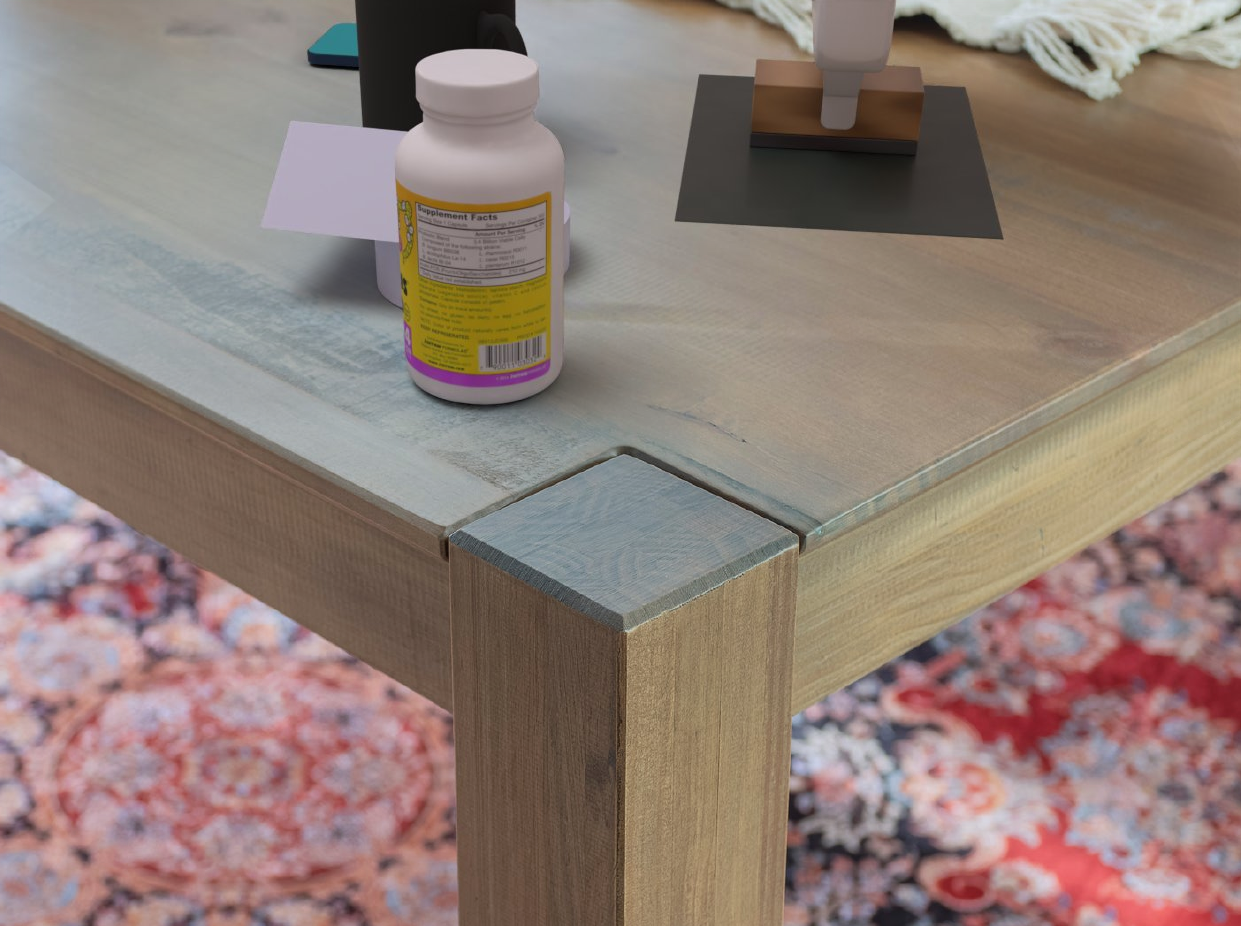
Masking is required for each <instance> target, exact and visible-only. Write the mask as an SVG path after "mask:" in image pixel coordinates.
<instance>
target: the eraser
mask: <svg viewBox="0 0 1241 926" xmlns="http://www.w3.org/2000/svg"><path fill="white" fill-rule="evenodd" d="M754 77H755V80H754V92H753V105H752V118H751V132H750V146H751V147H766V148H785V149H804V150H823V151H841V152H860V153H879V154H898V155H916V153H917V146H918V139H919V131H920V124H921V116H922V109H923V102H924V94H925V93H924V87H923V85H924V82H923V75H922V69H921V67H920V66H910V65H909V66H908V65H889V64H886V67H885V68H884V69H883V70H882V71H881V72H877V73H864V76H863V80H862V84H861V88H860V92H859V95H858V101H857V109H856V118H855V123H854V125H853V127H852V128H850V129H848V130H838V129H826V128H825V127H824V126H822V123H821V106H822V96H823V81H824V70H821V69H819V68H818V67H817V66H816V65H815V62H814V61H805V60H784V59H765V58H764V59H763V58H757V59H756V60H755V71H754Z"/></svg>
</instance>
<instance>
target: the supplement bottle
mask: <svg viewBox="0 0 1241 926" xmlns="http://www.w3.org/2000/svg"><path fill="white" fill-rule="evenodd" d="M539 68H540V67H539V65H538V63H537V61H535V60H534V59H533V58H531V57H529V56H528V57H527V56H525V55H522V54H518V53H514V52H510V51H504V50H495V49H462V50H453V51H447V52H442V53H438V54H434V55H431V56H428V57H426V58H424V59H423V60H421V61H420V62H419V63H418V64H417V66H416V69H415V71H416V98H417V100H418V102H419V103H420V107H421V109H422V111H423V122H422V123H420V124H419V125H417V126H415V127H414V128H412V129H411V130H410V131H409V132H408V133H407V134H406V135H405V136H404V137H403V138H402V140H401V142H400V144H399V146H398V148H397V151H396V155H395V182H396V198H397V216H398V233H399V253H400V271H401V291H402V308H401V309H402V325H403V326H402V327H403V342H404V345H403V346H404V353H405V365H406V369H407V372H408V375H409V377H410V378H411V379H412V381H413V382H414V383H415V384H416V385H417V386H418V387H419V388H420V389H422V390H423V391H424V392H426V393H428V394H429V395H432V396H434V397H436V398H439V399H443V400H446V401H449V402H454V403H462V404H468V405H469V404H470V405H500V404H501V405H502V404H507V403H512V402H518V401H520V400H524V399H527V398H529V397H533V396H534V395H536V394H538V393H541V392H542V391H544V390H545V389H547V388H548V387H549V386H550V385H552V384H553V383H554V382H555V380H556V379H557V378H558V376H559V375H560V373H561V371H562V368H563V363H564V336H565V335H564V331H565V330H564V329H565V327H564V324H565V323H564V319H565V318H564V317H565V316H564V313H565V312H564V311H565V310H564V308H565V307H564V305H565V304H564V303H565V301H564V300H565V299H564V295H565V293H564V292H565V290H564V285H565V284H564V282H565V281H564V280H565V278H564V277H565V276H564V275H565V274H564V200H565V156H564V151H563V148H562V145H561V144H560V142H559V140H558V139H557V137H556V136H555V134H554V133H553V132H552V131H550V129H548V128H547V127H546V126H545V125H543V124H541V123H540V122H538V121H536V120H535V110H536V109H537V106H538V101H539V99H540V97H541V96H540V94H541V93H540V92H541V91H540V69H539Z"/></svg>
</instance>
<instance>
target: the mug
mask: <svg viewBox="0 0 1241 926" xmlns="http://www.w3.org/2000/svg"><path fill="white" fill-rule="evenodd" d="M516 4H517V3H516V0H354V6H355V7H354V8H355V9H354V10H355V23H356V26H357V43H358V60H359V67H358V73H359V74H358V76H359V89H360V92H359V93H360V109H361V120H362V121H361V125H362V126H361V127H363V128H374V129H384V130H395V131H405V132H409V131H410V130H411V129H412V128H414V127H415V126H417V125H419V124H420V123H422V122H423V111H422V109H421V107H420V103H419V102H418V100H417V98H416V71H415V69H416V66H417V64H418V63H419V62H420V61H421V60H423V59H424V58H426V57H428V56H431V55H434V54H438V53H442V52H447V51H453V50H462V49H495V50H504V51H510V52H514V53H518V54H522V55H525V56H527V57H529V55H528V51H527V47H526V43H525V40H524V38H523V35H522V33H521V31H520V30H519V29H520V28H519V27H518V25H517V19H516V17H517V14H516V13H517V11H516V10H517V7H516V6H517V5H516Z"/></svg>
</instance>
